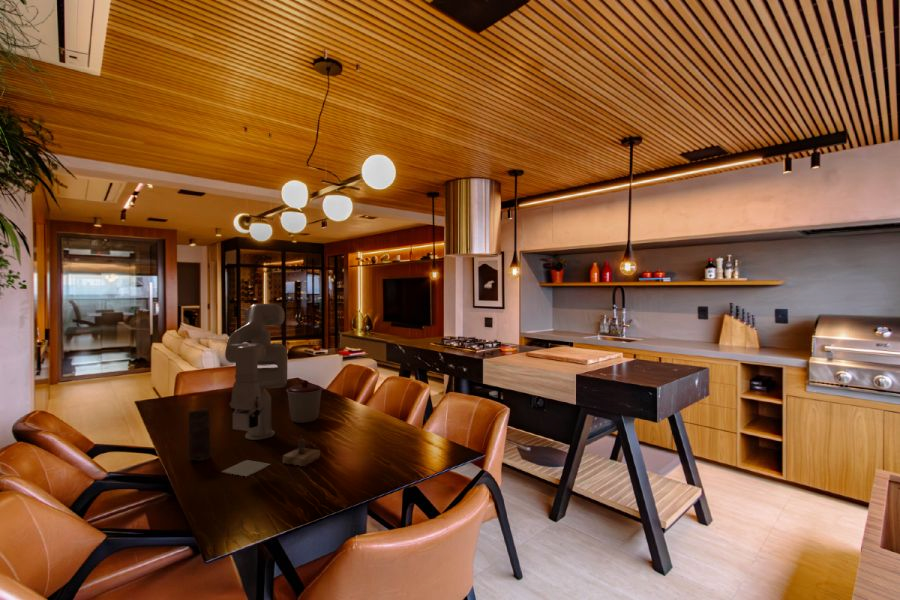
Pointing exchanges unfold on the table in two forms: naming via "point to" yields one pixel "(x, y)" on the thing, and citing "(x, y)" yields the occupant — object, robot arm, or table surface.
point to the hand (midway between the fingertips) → (246, 425)
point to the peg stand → (301, 455)
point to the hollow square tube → (243, 420)
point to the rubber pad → (246, 468)
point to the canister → (304, 402)
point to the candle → (199, 435)
